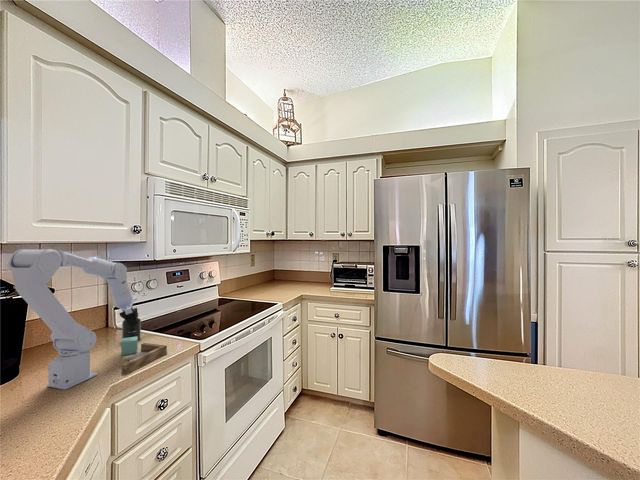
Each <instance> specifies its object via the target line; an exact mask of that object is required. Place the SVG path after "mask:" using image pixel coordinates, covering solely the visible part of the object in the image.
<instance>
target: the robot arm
mask: <svg viewBox="0 0 640 480" xmlns="http://www.w3.org/2000/svg"><path fill="white" fill-rule="evenodd" d="M101 257H102V256H99V255H94V256H89V257H87V258H86V257H82V256H81V255H75V254H73V253H69V252H67V251H63V250H56V249H53V248H48V249H29V248H28V249H27V248H21V249H18V250H16V251H14V252H13V254H12V255H11V256H10V259H9V261H8V264H7V265H6V266H7V268H9V270H10V271H11V272H12V278H13V279H12V280H13V283H14V289H15V291H16V292H17V294H18V295H19V296H20V297H21V298H22V299H23V300H24V301H25V303H27V305H28V306H29V307H30V309H32V310H33V312H35V314H36V315H37V316H38V317H39V318H40V319H41V320H42V321H43V322H44V324H45V325H46V326H47V327H48V328H49V329H50V331H51V334H50V335H49V338H50V339H51V340H52V345H53V347H54V349H56V351H58V354H59V355H58V356H57V357H55V358H53V359H52V360H51V361H49V364H48V368H47V369H48V375H47V377H48V378H47V379H48V383H47V384H46V387H49V388H55V389H59V390H68V389H70V388H72V387H74V386H77V385H78V384H80V383H83V382H85V381H87V380H89V379H91V378H93V377H96V376H98V373H97V372H91V350H93V347H94V346H95V344H96V343H97V334H96V333H95V332H94V331H93V330H89V329H88V328H87V326H84V325H83V324H81V323H78V322H76V321H75V319H74V318H73V317H72V315H70V313H69V312H68V310H67V309H66V308H65V307H64V306H63V304H61V301H60V300H58V298H57V296H55V294H54V293H53V292H52V290H50V288H49V287H48V285H47V284H48V283H49V282H50V281H51V279H52V278H53V276H54V275H55V274H56V273H57V271H58V270H59V269H60V267H64V266H67V267H75V268H78V269H79V268H80V269H82V271H83V273H85V274H89V275H93V276H94V275H95V276H99V277H100V278H101V279H105V280H106V282H107V285H108V288H109V290H110V292H111V296H112V297H113V301H114V305H115V307H116V308H118V309H120V310H122V312H119V316H120V318H122V319H123V320H126V321H127V323H128V324H129V325H130V326H131V327H132V326H134V325H137V319H136V314H137V312H138V307H135V308H133V305H134V303H135V301H137V300H138V297H137V296H136V295H135V296H133V293H132V291H131V288H130V286H129V283H128V280H127V278H128V277H127V273H128V270H127V269H128V268H127V266H125V264H123V263H122V262H113V260H111V259H103V258H101Z"/></svg>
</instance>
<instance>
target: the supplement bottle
mask: <svg viewBox="0 0 640 480" xmlns="http://www.w3.org/2000/svg"><path fill="white" fill-rule="evenodd" d="M136 319H137V325H134V326H132V327H131V326H130V325H129V324H128V323H127V321H126V320H125V319H123V321H122V324H121V325H122V328H121V340H122V339H123V338H130V337H136V336H138V341H139V340H140V339H141V331H142V329H141V328H142V324H141V323H142V322H141V321H142V320H141V319H140V318H139V312H138V311H137V314H136Z"/></svg>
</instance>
